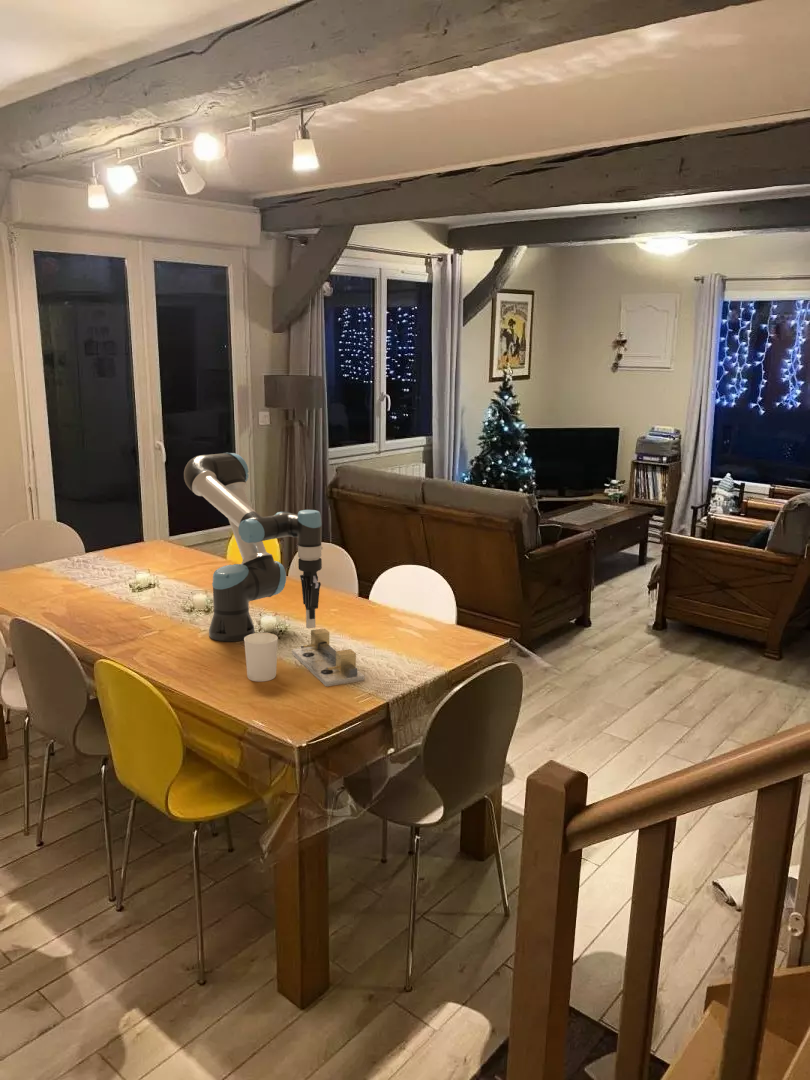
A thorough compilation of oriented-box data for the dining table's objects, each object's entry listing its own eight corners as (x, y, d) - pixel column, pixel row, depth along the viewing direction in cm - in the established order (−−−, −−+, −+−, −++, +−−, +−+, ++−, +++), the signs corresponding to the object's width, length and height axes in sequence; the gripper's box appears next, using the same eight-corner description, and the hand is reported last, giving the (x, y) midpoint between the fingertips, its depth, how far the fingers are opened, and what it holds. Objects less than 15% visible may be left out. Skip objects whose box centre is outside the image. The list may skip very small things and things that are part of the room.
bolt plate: (326, 686, 236) (326, 664, 235) (292, 653, 262) (291, 633, 261) (364, 680, 242) (364, 658, 240) (327, 648, 268) (327, 628, 266)
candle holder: (280, 670, 248) (279, 632, 245) (276, 682, 238) (275, 643, 236) (247, 670, 248) (246, 632, 245) (242, 682, 238) (241, 643, 235)
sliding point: (303, 650, 260) (302, 635, 259) (298, 646, 264) (298, 631, 263) (329, 646, 264) (329, 632, 263) (324, 643, 268) (324, 628, 266)
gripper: (328, 561, 263) (328, 631, 268) (313, 552, 274) (314, 620, 279) (305, 563, 260) (306, 634, 264) (292, 554, 271) (293, 623, 276)
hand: (310, 627), depth 272 cm, fingers closed
